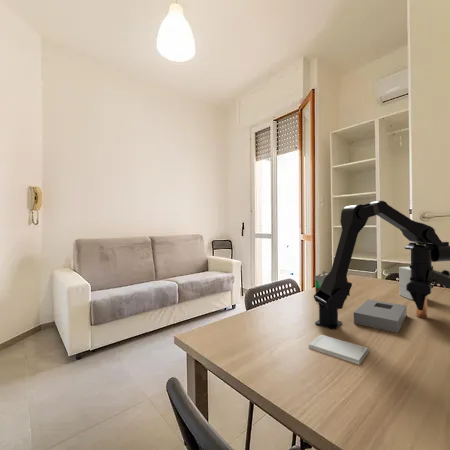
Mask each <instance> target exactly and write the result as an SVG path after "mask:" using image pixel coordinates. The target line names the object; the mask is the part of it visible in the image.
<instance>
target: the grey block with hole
mask: <svg viewBox="0 0 450 450" xmlns="http://www.w3.org/2000/svg"><path fill="white" fill-rule="evenodd" d="M407 308H408V307H407V305H405V304H397V303H393V302H389V301H387V302H386V301H383V300H382V301H381V300H376V299H375V300H374V299H367V300H365V301H364V302H363V303H362V304H361V305H360V306H359V307H358V308H357V309H356V310H355V311H353V324H358V325H362V326H365V327H370V328H374V329H379V330H384V331H386V332H392V333H396V334H398V333H399V331H400V329H401V327H402V326H403V323H404V322H405V320H406V318H407V315H408V314H407V313H408V312H407Z"/></svg>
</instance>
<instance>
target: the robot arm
mask: <svg viewBox="0 0 450 450" xmlns="http://www.w3.org/2000/svg"><path fill="white" fill-rule="evenodd" d="M376 216H377V217H378V218H380V219H383V220H384V221H385V222H387V223H389V224H390V225H391V226H394V227H395V228H396V229H398V230H399V231H401V233H402V235H403V236H404V238H406V239H407V240H408V241H409V243H408V244H407V245H405V246H404V250H409V251H410V265H409V267H410V269H411V277H410V280H411V281H410V282H409V283H407V285H406V290H407V291H409V292H410V294H411V296H412V298H413V302H414V304H415V307H416V306H417V308H418V310H423V307H424V302H425V298H426V296H427V295H428V296H429V295H431V294H432V290H433V288H434V285H435V283H436V284H439V285H441V286H443V287H445V288H447V289H450V271H449V270H446V269H443V270H442V271H439V270H435V269H434V266H433V265H432V264H433V263H436V262H437V263H438V262H450V242H449V241H442V240H441V239H440V237H439V236H438V234H437V233H436V229H435V228H434V227H433V226H431V225H428V224H426V223H423V222H419V221H415V220H413V219H412V218H409V217H408V216H406V215H405V214H403V213H402V212H400V211H399V210H397V209H396V208H394V207H393V206H391V205H389V204H388V203H387V202H386V201H384V200H375V201H371V202H368V203H365V204H364V203H363V204H353V205H346V206H344V207H343V208H342V210H341V213H340V226H341V233H340V237H339V240H338V244H337V248H336V251H335V255H334V258H333V262H332V265H331V269H330V271H329V272H330V273H329V274H328V275H327V276H326V277H325V278H324V281H323V283H322V285H321V288H320V289H319V290H318V291H317V293H316V292H315V293H314V295H313V298H314V301H315V302H316V303H317V304H318V319H317V321H315V322H314V325H317V326H322V327H324V328H328V329H333V330H336V329H337V328H338V327H340V325H342V323H343V321H341V320H339V310H342V309H343V306H344V304H345V301H346V300H347V298H348V296H349V297H350V291H351V289H352V286H353V283H352V282H349V281H348V272H349V268H350V264H351V261H352V259H353V258H352V257H353V254H354V251H355V246H356V243H357V239H358V236H359V233H360V232H361V231H362V230H363V228H364V227H366V224H367V223H368V220H369V219H370V218H371V217H376Z"/></svg>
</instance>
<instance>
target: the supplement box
mask: <svg viewBox="0 0 450 450" xmlns="http://www.w3.org/2000/svg"><path fill="white" fill-rule="evenodd" d="M398 277H399V278H398V279H399V280H398V282H399V286H398V287H399V291H398V292H399V296H402V297H403V298H406V299H408V300H411V301H412V300H413V298H412V296H411V294H410V292H409V291H407V290H406V285H407V283H409V282H410V281H411V280H410V277H411V269H410V266H399V267H398ZM428 297H429V295H427V300H428V299H429V298H428ZM413 301H414V300H413Z"/></svg>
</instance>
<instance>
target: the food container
mask: <svg viewBox="0 0 450 450" xmlns="http://www.w3.org/2000/svg"><path fill="white" fill-rule="evenodd" d="M329 273H330V271H325V270H324V271H323V270H322V273H319V274H318V275H314V285H315V294H316V293H317V291H318V290H319V289H320V288H321V285H322V283H323V281H324V278H325V277H326V276H327V275H328V274H329Z"/></svg>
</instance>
